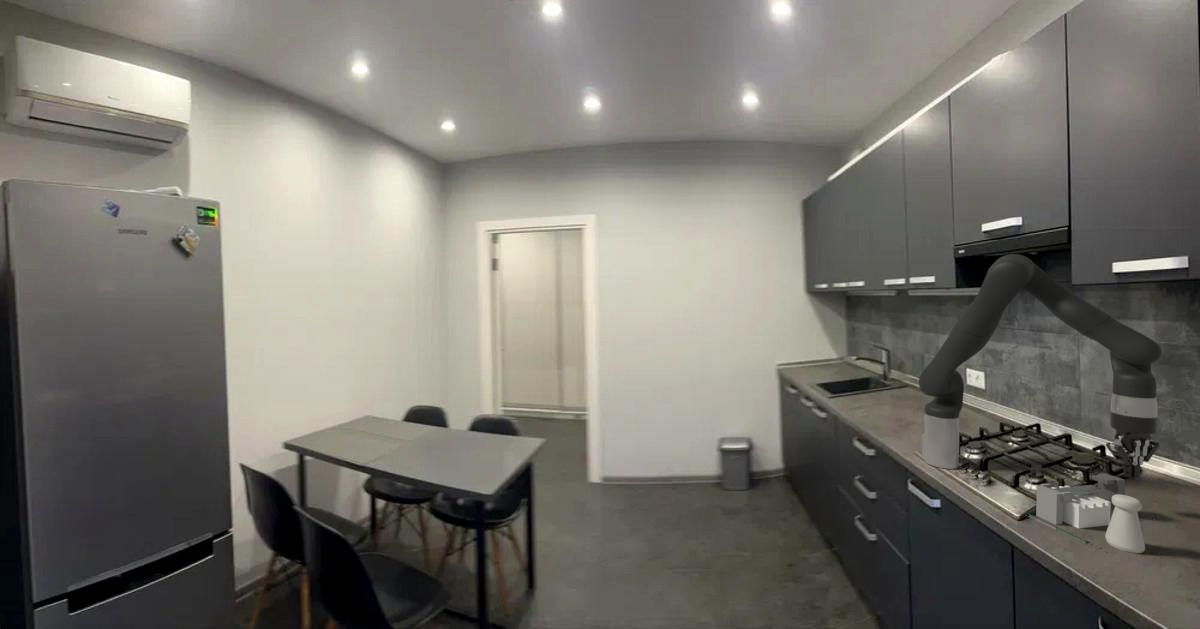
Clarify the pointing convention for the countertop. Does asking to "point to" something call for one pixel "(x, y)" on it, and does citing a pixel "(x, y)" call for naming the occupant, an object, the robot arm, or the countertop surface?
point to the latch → (1109, 487)
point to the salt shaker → (1125, 525)
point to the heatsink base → (1070, 509)
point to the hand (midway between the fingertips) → (1131, 477)
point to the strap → (1080, 490)
